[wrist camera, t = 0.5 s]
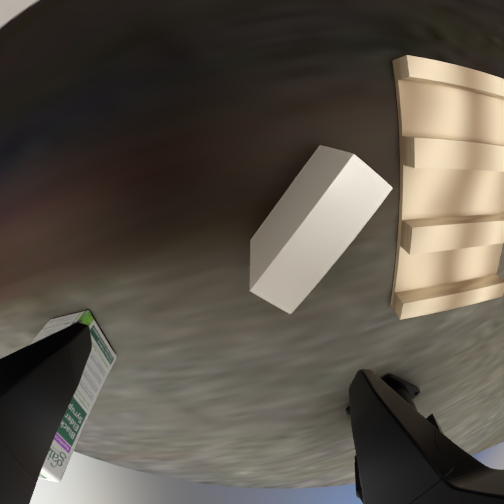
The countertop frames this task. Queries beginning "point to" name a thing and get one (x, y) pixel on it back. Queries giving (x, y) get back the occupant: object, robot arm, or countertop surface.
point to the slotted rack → (448, 186)
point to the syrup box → (77, 393)
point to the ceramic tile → (313, 225)
